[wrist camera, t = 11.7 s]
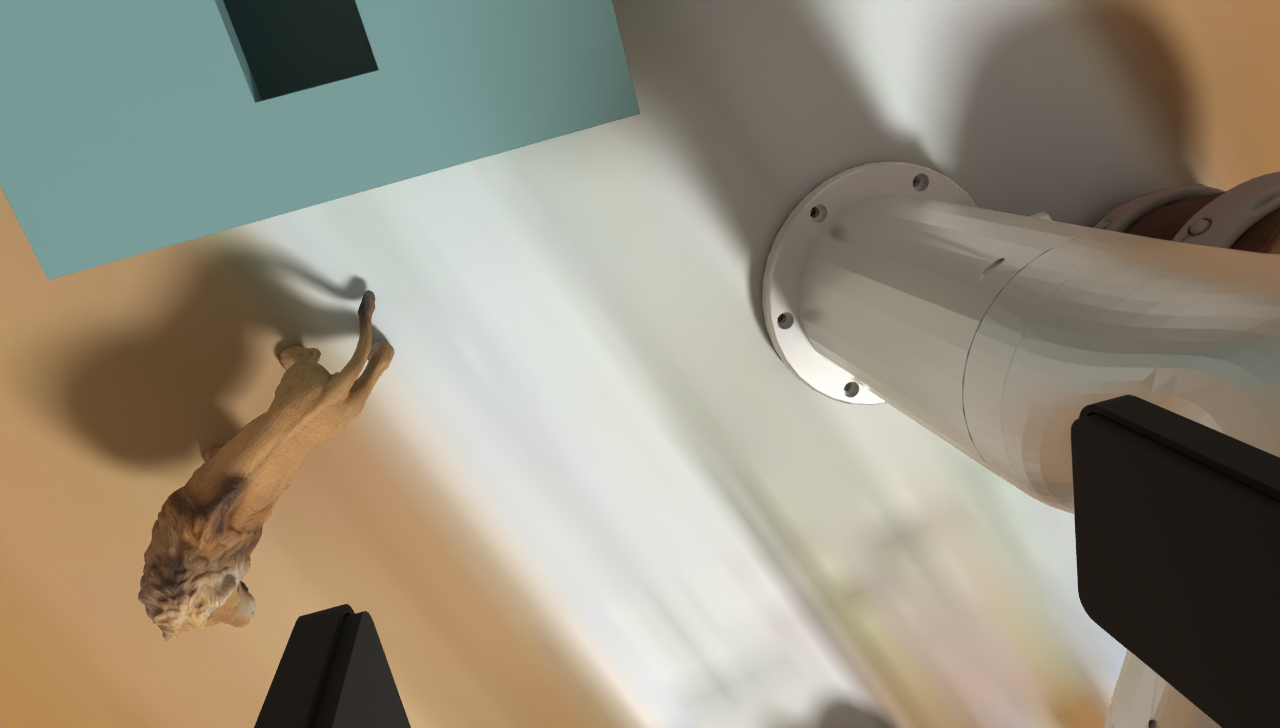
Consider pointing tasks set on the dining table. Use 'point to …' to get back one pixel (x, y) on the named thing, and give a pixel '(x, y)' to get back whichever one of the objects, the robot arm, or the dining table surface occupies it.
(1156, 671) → the robot arm
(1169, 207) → the flowerpot
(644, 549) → the dining table surface
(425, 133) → the box
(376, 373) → the lion figurine
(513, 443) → the dining table surface
